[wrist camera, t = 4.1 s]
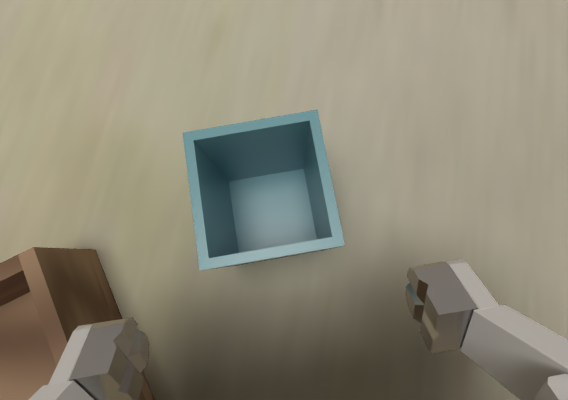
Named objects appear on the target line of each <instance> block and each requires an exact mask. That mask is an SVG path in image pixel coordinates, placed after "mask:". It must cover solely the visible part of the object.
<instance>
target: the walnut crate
mask: <svg viewBox="0 0 568 400" xmlns="http://www.w3.org/2000/svg"><path fill="white" fill-rule="evenodd" d="M119 319H122V317H121V315H120V312H119V310H118V307H117V305H116V302H115V300H114V297H113V294H112V292H111V289H110V287H109V284H108V282H107V279H106V277H105V274H104V271H103V269H102V266H101V264H100V261H99V259H98V256H97V254H96V251H95V250H90V249H65V248H40V247H33V248H31V249H29V250H27V251H25V252H23V253H21V254H18V255H16V256H14V257H12V258H10V259H8V260H6V261H4V262H2V263H0V400H29V399H30V398H31V397H32V396H33V395H34V394H35V393H36V392H37V391H38V390H39V389H40V388H41V387H42V386H43V385H48V384H49V382H50V379H51V377H52V375H53V373H54V371H55V369H56V367H57V365H58V362H59V360H60V358H61V356H62V354H63V352H64V350H65V347H66V345H67V343H68V341H69V339H70V337H71V335H72V332H73V331H74V330H75V329H76V328H77V327H78V326H81V325H87V324H93V323H99V322H106V321H113V320H119ZM140 374H141V376H142V378H143V385H142V389H141V393H140V397H139V400H154V399H153V397H152V394H151V392H150V389H149V386H148V384H147V381H146V379H145V376H144V374H143V371H142V372H141V373H140Z"/></svg>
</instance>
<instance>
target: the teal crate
mask: <svg viewBox="0 0 568 400" xmlns="http://www.w3.org/2000/svg"><path fill="white" fill-rule="evenodd" d="M183 139H184V147H185V156H186V164H187V172H188V180H189V188H190V196H191V204H192V212H193V221H194V229H195V237H196V245H197V253H198V261H199V269H200V270H208V269H215V268H222V267H229V266H236V265H242V264H248V263H254V262H260V261H265V260H271V259H277V258H283V257H288V256H294V255H300V254H306V253H311V252H317V251H323V250H328V249H332V248H336V247H340V246H345V244H344V239H343V234H342V229H341V224H340V219H339V214H338V209H337V204H336V200H335V195H334V190H333V185H332V180H331V175H330V170H329V165H328V160H327V155H326V150H325V145H324V140H323V135H322V130H321V125H320V120H319V115H318V110H313V111H307V112H301V113H295V114H289V115H284V116H278V117H272V118H266V119H260V120H255V121H249V122H243V123H237V124H231V125H225V126H220V127H214V128H208V129H202V130H196V131H191V132H185V133H183Z"/></svg>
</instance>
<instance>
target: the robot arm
mask: <svg viewBox="0 0 568 400" xmlns="http://www.w3.org/2000/svg"><path fill="white" fill-rule="evenodd" d="M407 277H408V279H409V281H410V283H409V284H408V285H407V286H406V300H407V304H408V307H409V310H410V312H411V314H412V317H413V318H414V319H416V320H417V321H418V322H420V323H421V327H420V333H421V335H422V337H423V339H424V342H425V344H426V346H427V348H428V350H429V352H430V353H436V352H443V351H450V350H457V349H461V351H462V352H463V353H464V354H465V355H467V356H468V357H469V358H470V359H471V360H473V361H474V362H475V363H476V364H478V365H479V366H480V367H481V368H482V369H484V370H485V371H486V372H487V373H488V374H490V375H491V376H492V377H493V378H495V379H496V380H497V381H498V382H499V383H501V384H502V385H503V386H504V387H505V388H507V389H508V390H509V391H510V392H512V393H513V394H514V395H515V396H516V397H518V398H519V399H520V400H568V339H566V338H564V337H562V336H561V335H559V334H557V333H555V332H553V331H552V330H550V329H548V328H546V327H544V326H543V325H541V324H539V323H537V322H535V321H534V320H532V319H530V318H528V317H526V316H525V315H523V314H521V313H519V312H517V311H516V310H514V309H512V308H510V307H508V306H507V305H499V304H498V303H497V302H496V300H495V299H494V298H493V296H492V295H491V294H490V292H489V291H488V290H487V288H486V287H485V286H484V284H483V283H482V282H481V280H480V279H479V278H478V276H477V275H476V274H475V273H474V271H473V270H472V269H471V267H470V266H469V265H468V263H467V262H466V261H465V260H463V259H456V260H451V261H446V262H438V263H432V264H427V265H422V266H417V267H412V268H409V270H408V274H407ZM137 325H138V323H137V322H136V321H135V320H134V318H133V317H132V318H126V319H119V320H113V321H106V322H99V323H93V324H87V325H81V326H78V327H77V328H76V329H75V330H74V331H73V332H72V335H71V337H70V339H69V341H68V343H67V345H66V347H65V350H64V352H63V354H62V356H61V358H60V360H59V362H58V365H57V367H56V369H55V371H54V373H53V375H52V377H51V379H50V382H49V384H48V385H43V386H42V387H41V388H40V389H39V390H38V391H37V392H36V393H35V394H34V395H33V396H32V397H31V398H30V399H29V400H139V397H140V393H141V389H142V385H143V378H142V376H141V374H140V373H141V372H142V370H143V369H144V368H145V367H146V365H147V364H148V359H149V341H148V338H147V336H146V335H145V333H144V332H142V331H139V330H137Z"/></svg>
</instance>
